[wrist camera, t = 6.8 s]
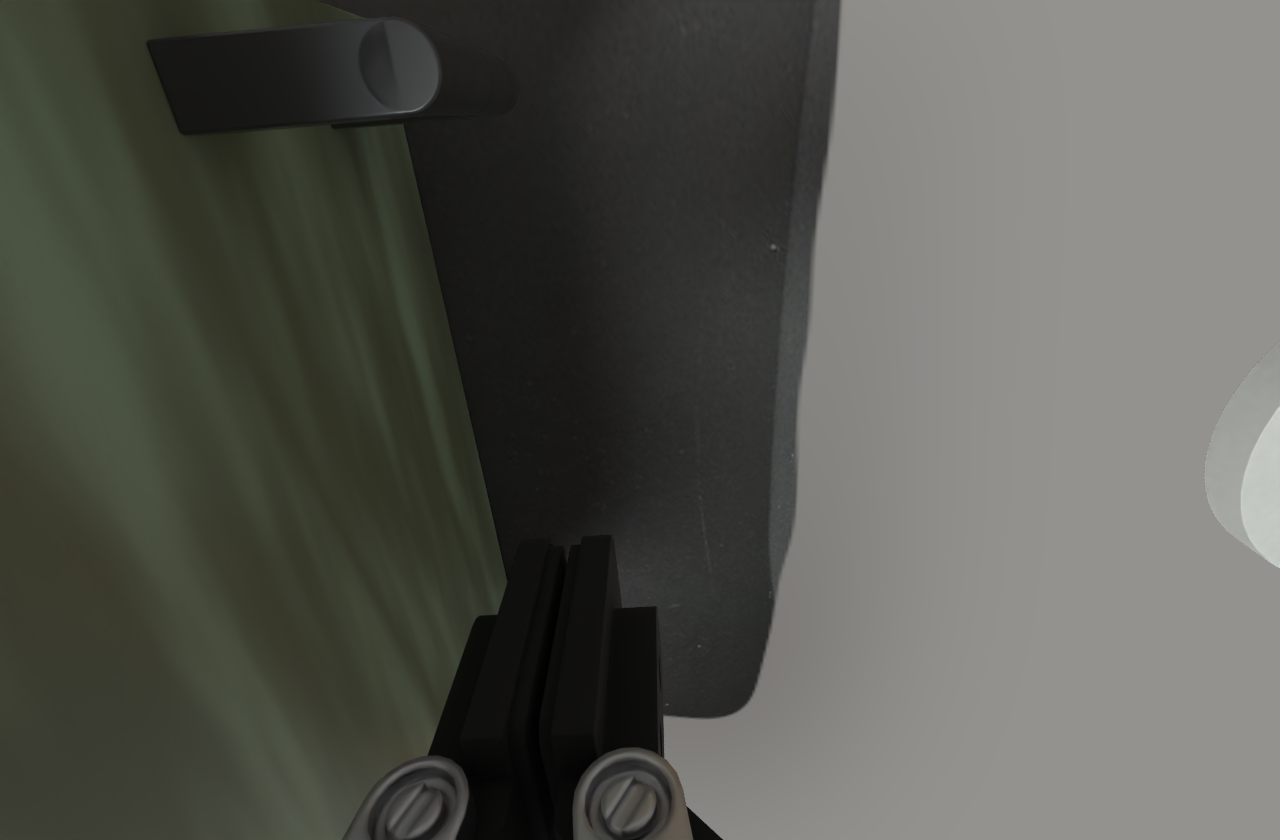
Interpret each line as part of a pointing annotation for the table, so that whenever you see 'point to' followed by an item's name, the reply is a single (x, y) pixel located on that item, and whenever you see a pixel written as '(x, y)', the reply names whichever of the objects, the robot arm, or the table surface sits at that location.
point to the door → (226, 417)
